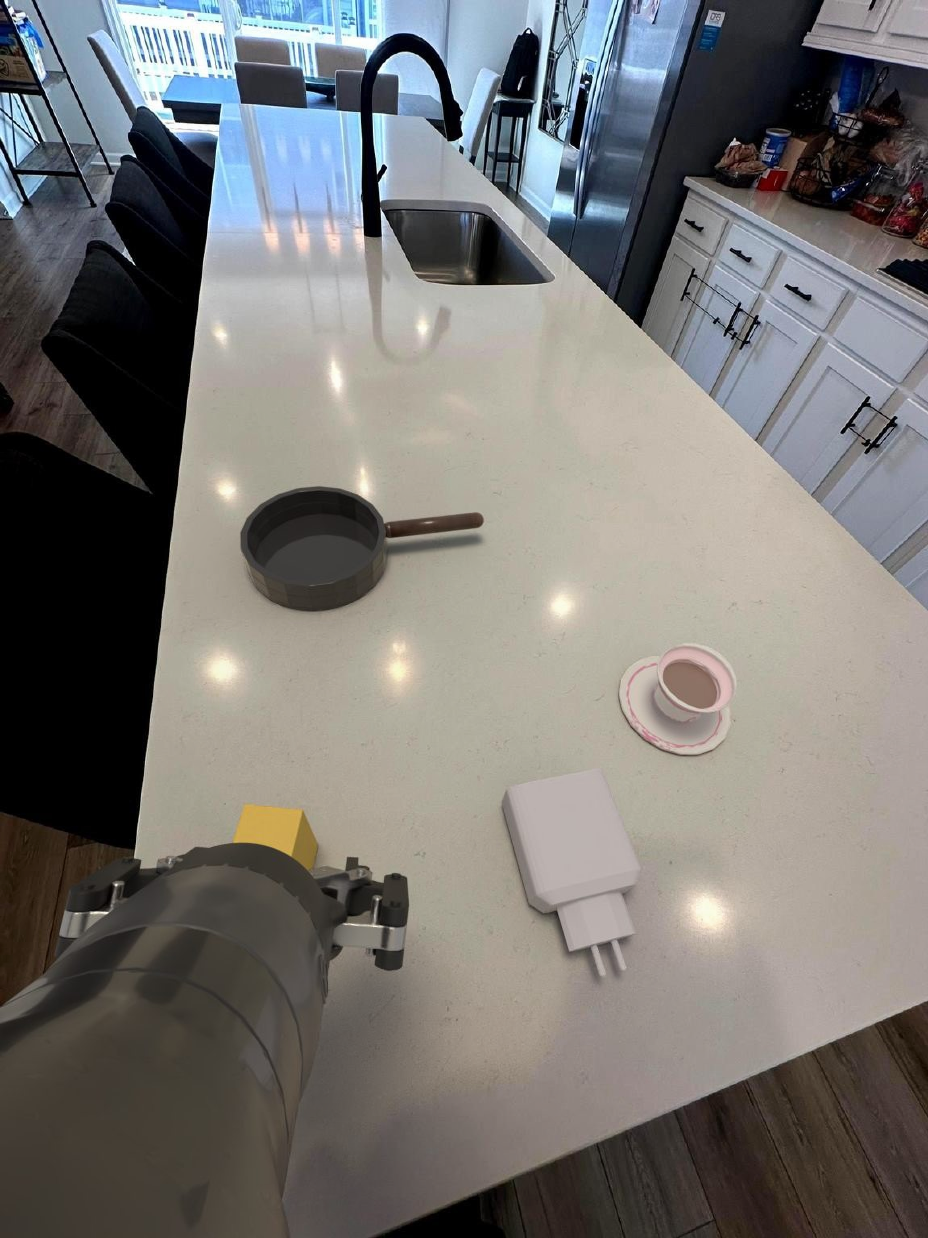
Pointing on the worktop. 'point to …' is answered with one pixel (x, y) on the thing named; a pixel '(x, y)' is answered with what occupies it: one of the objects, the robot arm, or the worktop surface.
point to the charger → (575, 857)
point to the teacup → (680, 698)
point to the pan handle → (433, 525)
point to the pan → (314, 548)
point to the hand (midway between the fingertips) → (277, 870)
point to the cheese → (278, 831)
